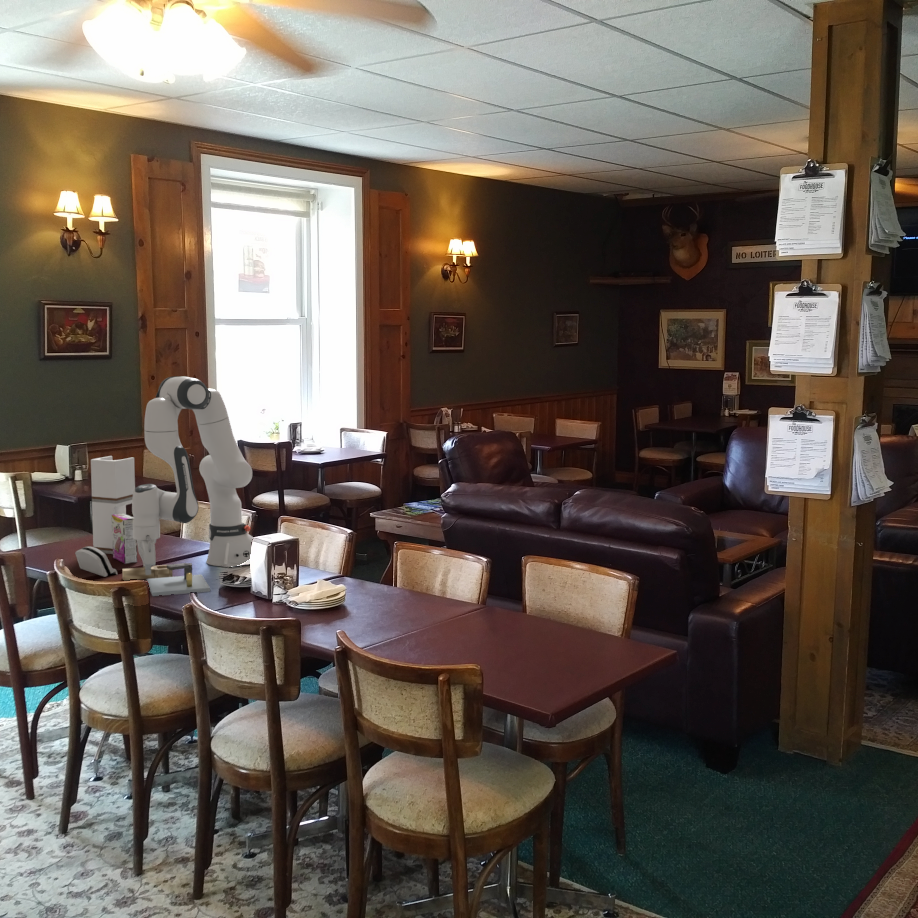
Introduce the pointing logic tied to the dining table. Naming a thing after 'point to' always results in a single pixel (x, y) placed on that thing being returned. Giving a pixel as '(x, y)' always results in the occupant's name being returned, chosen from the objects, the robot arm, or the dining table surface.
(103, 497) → the banded white column
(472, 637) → the dining table surface
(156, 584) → the board
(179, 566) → the pintle keeper
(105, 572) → the white black-striped rounded block
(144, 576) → the link
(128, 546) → the candy bar box
